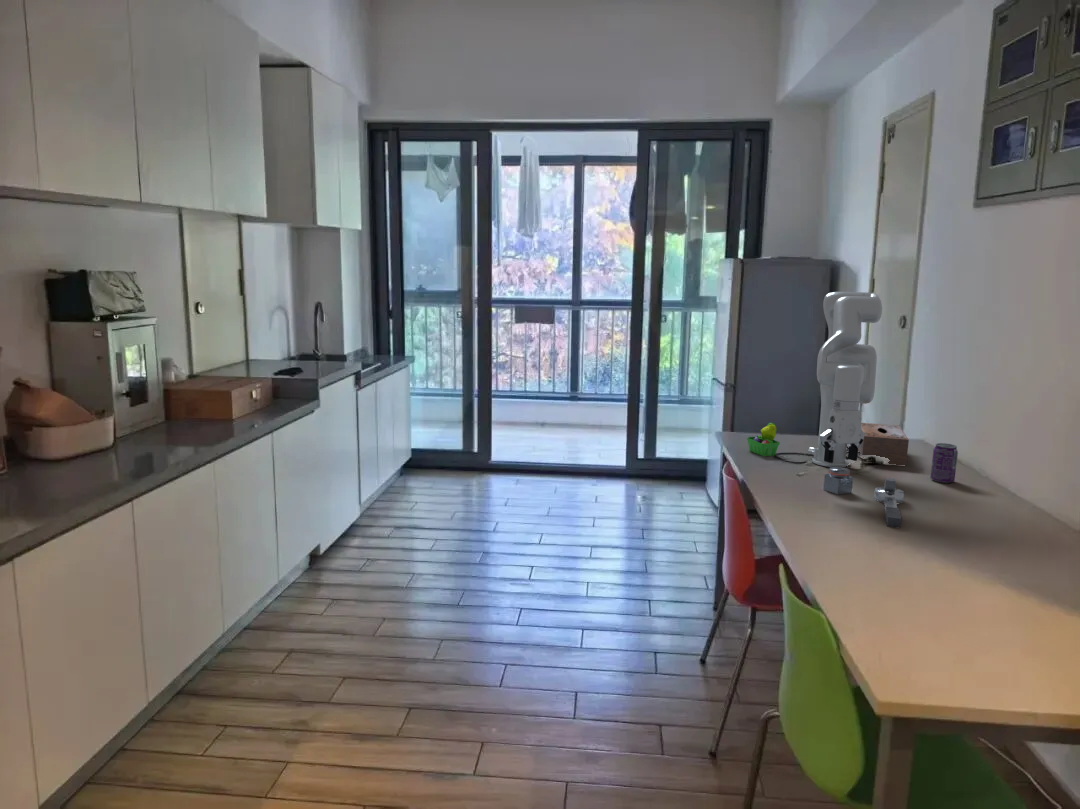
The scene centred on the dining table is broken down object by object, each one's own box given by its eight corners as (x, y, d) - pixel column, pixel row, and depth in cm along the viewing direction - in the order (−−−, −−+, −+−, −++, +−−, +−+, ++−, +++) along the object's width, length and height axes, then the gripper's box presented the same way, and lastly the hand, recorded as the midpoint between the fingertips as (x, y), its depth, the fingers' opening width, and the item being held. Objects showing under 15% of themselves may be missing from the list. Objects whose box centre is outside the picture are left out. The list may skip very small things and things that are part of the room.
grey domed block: (837, 494, 235) (839, 472, 234) (823, 489, 240) (825, 467, 239) (851, 492, 237) (854, 470, 236) (837, 487, 243) (839, 466, 241)
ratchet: (909, 529, 205) (912, 506, 204) (877, 525, 208) (879, 502, 207) (902, 498, 233) (904, 477, 232) (873, 495, 236) (875, 474, 235)
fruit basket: (744, 450, 290) (746, 420, 288) (765, 449, 293) (767, 419, 291) (761, 457, 279) (764, 427, 277) (782, 456, 282) (785, 426, 280)
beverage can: (948, 478, 256) (953, 443, 254) (958, 484, 249) (962, 448, 247) (926, 477, 257) (930, 442, 255) (935, 483, 250) (939, 447, 248)
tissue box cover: (905, 467, 270) (908, 439, 269) (861, 463, 275) (864, 436, 273) (896, 451, 295) (899, 425, 293) (855, 447, 299) (858, 422, 297)
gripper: (833, 409, 227) (828, 465, 229) (876, 406, 234) (871, 461, 237) (814, 405, 234) (809, 460, 236) (857, 403, 241) (852, 456, 243)
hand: (840, 461), depth 236 cm, fingers open, 9 cm apart
